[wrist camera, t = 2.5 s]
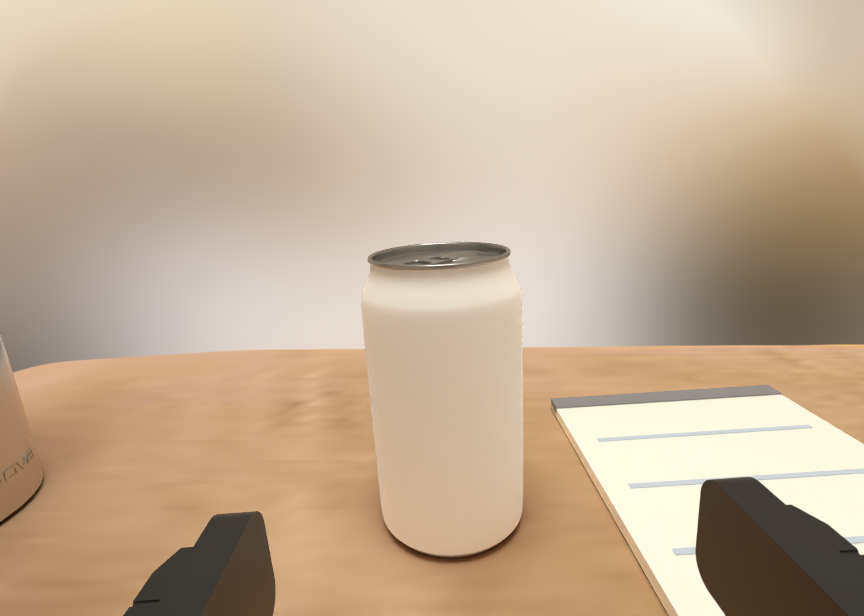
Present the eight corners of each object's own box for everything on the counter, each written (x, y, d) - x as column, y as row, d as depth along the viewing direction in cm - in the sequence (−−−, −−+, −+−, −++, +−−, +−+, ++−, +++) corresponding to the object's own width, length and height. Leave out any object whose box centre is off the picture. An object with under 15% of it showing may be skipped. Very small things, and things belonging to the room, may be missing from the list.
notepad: (720, 706, 14) (723, 688, 13) (551, 408, 31) (551, 398, 31) (1208, 673, 14) (1217, 654, 13) (766, 394, 31) (767, 385, 31)
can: (552, 508, 22) (556, 246, 19) (450, 593, 18) (432, 276, 14) (453, 454, 26) (442, 237, 23) (354, 511, 22) (325, 257, 19)
